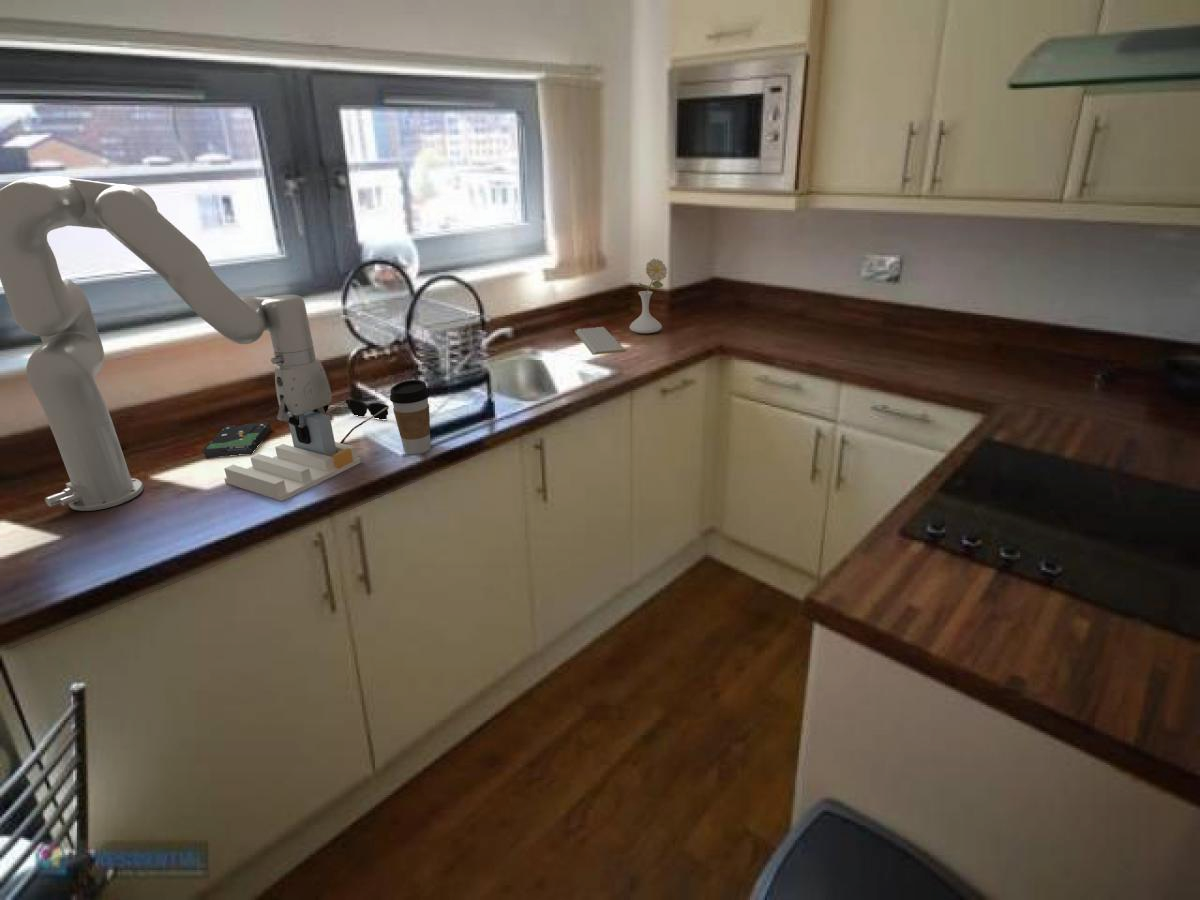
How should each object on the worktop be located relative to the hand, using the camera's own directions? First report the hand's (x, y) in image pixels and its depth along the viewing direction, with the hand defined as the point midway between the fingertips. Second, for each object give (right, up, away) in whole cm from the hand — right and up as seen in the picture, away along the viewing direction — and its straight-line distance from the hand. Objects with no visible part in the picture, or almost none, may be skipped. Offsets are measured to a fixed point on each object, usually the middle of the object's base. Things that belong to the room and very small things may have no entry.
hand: (312, 438), depth 152 cm
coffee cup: (+21, -2, +7) cm, 22 cm away
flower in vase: (+79, +39, +96) cm, 130 cm away
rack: (-3, -7, -3) cm, 8 cm away
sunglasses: (+1, +2, +20) cm, 20 cm away
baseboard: (+61, +34, +87) cm, 111 cm away
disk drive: (-22, -2, +14) cm, 26 cm away
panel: (0, -4, +2) cm, 4 cm away
